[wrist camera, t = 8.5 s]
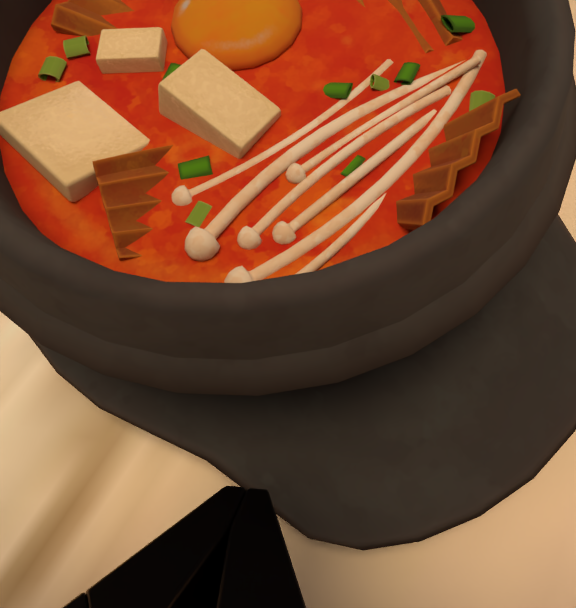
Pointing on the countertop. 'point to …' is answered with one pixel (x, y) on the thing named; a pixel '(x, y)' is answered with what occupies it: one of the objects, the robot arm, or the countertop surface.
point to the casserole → (303, 240)
